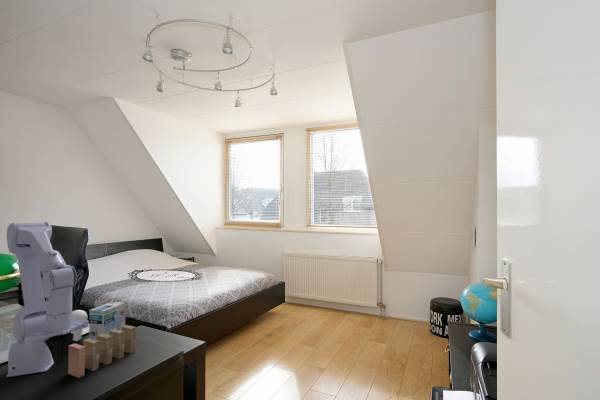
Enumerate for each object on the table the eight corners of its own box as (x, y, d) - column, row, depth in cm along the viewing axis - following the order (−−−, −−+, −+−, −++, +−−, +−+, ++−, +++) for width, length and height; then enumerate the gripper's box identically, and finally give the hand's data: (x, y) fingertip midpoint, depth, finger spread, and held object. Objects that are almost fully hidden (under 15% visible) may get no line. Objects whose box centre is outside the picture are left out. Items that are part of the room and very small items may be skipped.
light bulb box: (103, 341, 111) (104, 310, 111) (87, 339, 112) (88, 309, 113) (126, 329, 121) (126, 302, 122) (111, 328, 123) (111, 301, 123)
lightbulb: (75, 337, 114) (75, 307, 114) (91, 337, 114) (91, 307, 114) (61, 344, 108) (62, 313, 108) (78, 344, 108) (79, 313, 108)
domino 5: (130, 353, 101) (131, 328, 101) (120, 350, 103) (121, 326, 104) (135, 351, 103) (135, 327, 103) (125, 348, 105) (125, 324, 105)
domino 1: (78, 377, 87) (79, 348, 87) (68, 373, 89) (68, 345, 89) (84, 374, 88) (85, 346, 88) (74, 371, 90) (74, 343, 91)
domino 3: (106, 364, 94) (107, 338, 94) (96, 361, 96) (96, 335, 96) (111, 362, 95) (112, 336, 96) (101, 359, 98) (102, 333, 98)
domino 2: (93, 370, 90) (93, 343, 91) (82, 367, 93) (83, 340, 93) (98, 368, 92) (99, 341, 92) (88, 364, 94) (88, 338, 94)
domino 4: (119, 358, 98) (119, 333, 98) (109, 355, 100) (109, 330, 100) (124, 356, 99) (124, 331, 99) (113, 353, 101) (114, 328, 101)
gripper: (35, 323, 77) (34, 378, 76) (95, 306, 90) (94, 353, 89) (20, 319, 80) (19, 372, 79) (80, 303, 93) (80, 349, 92)
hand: (58, 362), depth 85 cm, fingers closed
